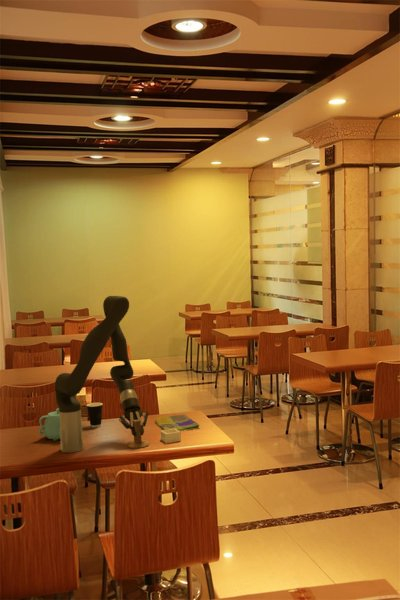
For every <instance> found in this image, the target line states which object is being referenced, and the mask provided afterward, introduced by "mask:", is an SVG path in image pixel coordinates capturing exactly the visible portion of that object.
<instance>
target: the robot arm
mask: <svg viewBox="0 0 400 600" xmlns="http://www.w3.org/2000/svg"><path fill="white" fill-rule="evenodd" d="M102 307H103V312H104V317H105V318H104V319H103V320H102V321H100V322H99V323H98V324H96V326H94V327H93V328H92V329H90V330H89V332H88V334H87V335H86V336H85V338H84V340H83V342H82V343H81V345H80V350H79V356H78V357H79V358H78V361H77V363H76V366H75V367H74V368H73V370H72V371H71V373H69V372H68V373H67V372H63V373H62V372H61V373H60V374H58V375H57V377H56V379H55V382H54V383H55V384H54V392H55V400H56V404H57V407H58V408H59V417H60V428H59V431H60V439H59V441H60V442H59V443H60V450H61V453H62V454H63V453H76V452H80V451H82V450H83V449H84V441H83V440H84V436H83V424H82V423H83V422H82V421H83V420H82V406H81V403H80V402H79V400H78V399H77V398H76V395H78V394H79V393H80V392H81V390H82V389H83V388H84V385H85V383H86V381H87V379H88V377H89V376H90V375H89V374H90V373H91V370H92V369H93V368H94V367H93V366H94V365H95V364H96V361H97V360H98V358H99V357H100V355H101V354H102V353H103V350H104V348H105V347H106V345H107V344H108V342H109V340H110V343H111V352H112V360H114V361H116V362H123V364H120V365H115V366H114V365H113V366H112V367H111V369H110V370H109V371H110V372H109V374H110V377H111V379H112V382H114V384H115V385H116V387H117V389H118V390H117V391H118V392H119V396H120V397H119V398H120V404H121V407H122V410H123V415H120V416H119V419H118V420H119V422H120V423H121V424H122V426H123V427H124V428H125V429H126V430H128V429H129V430H130V432H131V435H132V436H133V437H134V436H136V431H135V427H134V423H133V420H138V419H139V420H140V422H141V436H143V435H145V428H144V427H146V425H147V421H148V418H149V412H148V411H146V412H143V410H141V409H142V408H141V406H140V402H139V398H138V395H137V393H136V390H135V386H134V384H133V381H132V380H130V379H132V378H133V376H134V369H133V367H132V364H131V361H130V358H129V353H128V343H127V339H126V337H125V334H124V333H123V330H122V328H121V326H120V323H121V321H122V320H123V319H124V318H125V317H126V315H127V313H128V312H129V309H130V301H129V299H128V298H127V296H124V295H122V296H121V295H107V297H105V298H104V300H103V304H102ZM142 418H143V421H142Z"/></svg>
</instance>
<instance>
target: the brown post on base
mask: <svg viewBox="0 0 400 600" xmlns="http://www.w3.org/2000/svg"><path fill="white" fill-rule="evenodd" d="M133 423H134V427H135V431H136V436H134V435H133V440H130V441H128V442H127V443H126V447H127V448H131V449H141V448H144V447H145V448H146V447H147V446H149V445H150V442H149V440H146V439H142V435H141V422H140V420H139V419H138V420H133Z"/></svg>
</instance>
